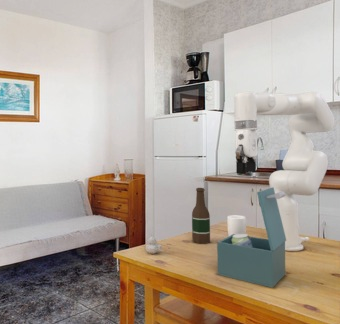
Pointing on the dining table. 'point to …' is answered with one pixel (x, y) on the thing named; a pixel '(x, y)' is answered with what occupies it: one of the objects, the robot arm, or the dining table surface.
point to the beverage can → (242, 240)
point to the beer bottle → (200, 219)
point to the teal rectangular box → (251, 261)
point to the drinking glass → (236, 224)
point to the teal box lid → (272, 216)
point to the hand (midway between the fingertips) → (246, 172)
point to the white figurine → (152, 245)
